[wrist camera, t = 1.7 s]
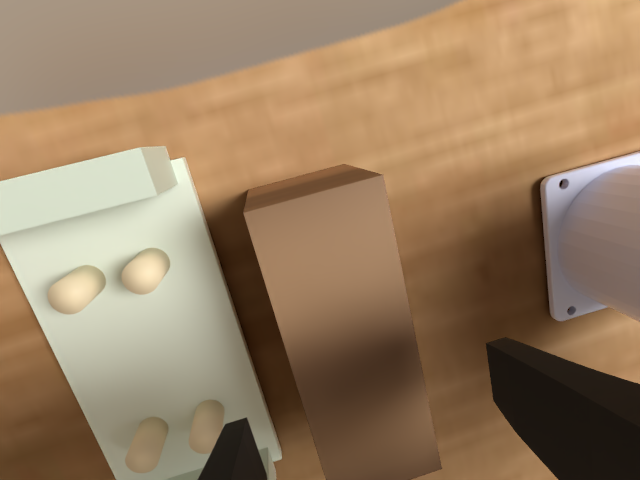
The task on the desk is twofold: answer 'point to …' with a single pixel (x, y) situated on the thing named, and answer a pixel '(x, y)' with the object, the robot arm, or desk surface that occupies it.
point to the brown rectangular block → (345, 321)
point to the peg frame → (136, 309)
